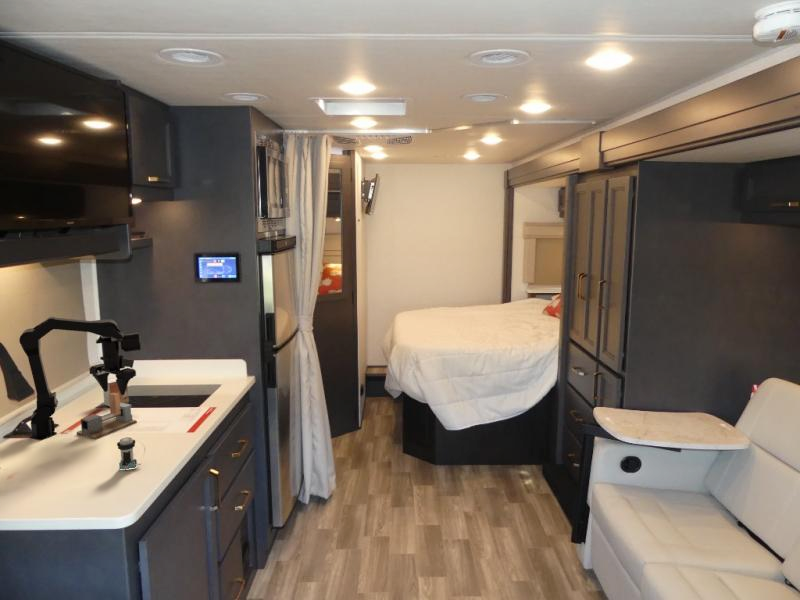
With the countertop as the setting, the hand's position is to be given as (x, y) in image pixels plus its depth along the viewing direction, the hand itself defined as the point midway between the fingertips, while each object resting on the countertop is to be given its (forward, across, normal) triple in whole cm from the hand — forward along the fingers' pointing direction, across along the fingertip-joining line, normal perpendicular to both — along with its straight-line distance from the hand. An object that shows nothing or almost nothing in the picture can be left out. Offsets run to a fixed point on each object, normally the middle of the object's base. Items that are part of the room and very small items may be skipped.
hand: (114, 393), depth 223 cm
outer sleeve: (+12, 0, +10) cm, 16 cm away
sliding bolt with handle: (+9, 0, +3) cm, 10 cm away
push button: (+13, -36, +24) cm, 45 cm away
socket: (+12, 0, -3) cm, 12 cm away
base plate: (+13, 0, +4) cm, 13 cm away
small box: (+13, +21, -17) cm, 30 cm away
